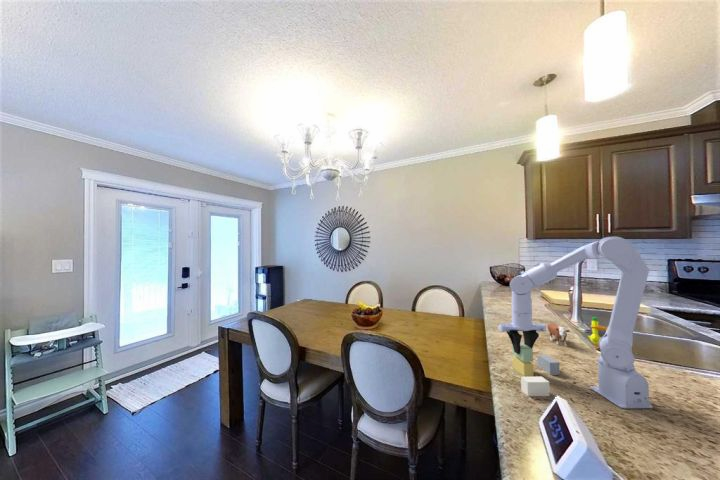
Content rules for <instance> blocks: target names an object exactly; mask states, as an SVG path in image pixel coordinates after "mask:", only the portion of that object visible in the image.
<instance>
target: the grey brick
mask: <svg viewBox="0 0 720 480" xmlns="http://www.w3.org/2000/svg"><path fill="white" fill-rule="evenodd" d="M536 359H537V360H536V361H537V367H539V368H540V369H541V370H543V371H544V372H546V373H547V374H549V375H552V376H553V375H554V376H555V375H560V362H559V361H558V360H557V359H555V358H552V357H551V356H550V355H548V354H537V357H536Z"/></svg>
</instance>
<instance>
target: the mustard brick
mask: <svg viewBox="0 0 720 480" xmlns="http://www.w3.org/2000/svg"><path fill="white" fill-rule="evenodd" d="M512 365H513V366H512V368H513V369H514V370H516V371H517V373H519V374H520V375H522V377H535V376H534V375H535V374H534V364H533V362H523V361H522V360H520V359H519V358H518V357H516V356H515V355H513V356H512Z"/></svg>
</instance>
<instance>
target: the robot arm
mask: <svg viewBox="0 0 720 480" xmlns="http://www.w3.org/2000/svg"><path fill="white" fill-rule="evenodd" d="M599 256H601V257H603V258H605V259H606V260H608V261H609V262H612V263H613V265H615V267H617V269H618V270H619V271H621V275H620V279H619V284H618V288H617V291H616V295H615V299H614V303H613V307H612V311H611V314H610V319H609V323H608V326H607V330H606V331H605V333H604V335H603V336H602V337H601V336H600V340H599V344H598V346H599V347H600V349H599V350H600V356H598V357H597V374H598V377H597V379H598V380H597V381H598V386H597V385H596V386H595V385H594V386H593V385H592V386H589V388H590V389H591V390H592V391H594V392H595V393H598V394H599V395H600V396H602V397H603V398H605V399H606V400H608V401H609V402H611V403H612V404H614V405H616V406H617V407H619V408H621V409H653V406H652V405H651V404H650V388H649V383H648V380H647V379H646V378H645V376H643V375H642V374H640V373H639V372H638V371H637V369H636V368H635V367H636V366H635V364H634V363H635V357H634V354H633V350H632V348H633V338H634V337H633V335H634V330H635V327H636V323H637V319H638V315H639V311H640V307H641V303H642V300H643V295H644V292H645V288H646V284H647V281H648V278H649V272H650V271H649V267H648V265H647V264H646V262H645V261H644V259H643V257H642V256H641V254H640V253H639V251H638V249H637V246H635V245H633V243H631V241H628V240H627V239H625V238H624V237H620V236H606V237H603V238H601V239H600V240H596V241H593V242H590V243H588V244H585V245H582V246H579V248H577V249H575V250H572V251H571V252H569V253H568V254H566V255H564V256H561V257H560V258H558V259H556V260H555V261H553V262H551V263H549V262H548V263H547V262H545V261H544V262H542V263H539V262H537V263H535V264H534V267H532V268H530V269H528V270H526V271H523V270H522V271H521V272H520V274H518V275H516V276H514V277H512V278H511V280H510V281H509V288H510V290H511V301H510V302H511V304H510V305H511V322H509V323H502V324H498V331H500V332H501V333H504V332H506V334H507V335H508V337H509V339H510V342H511V345H513V348H514V352H515V353H517V354H520V342H522V337H523V340H524V341H523V343H524V344H525V345H527V346H528V347H530V348H532V349H533V348H534V345H535V343H536V341H537V340H538V338H539V337H540V334H539V333H538V332H547V326H546V325H545V324H543V323H534V322H533V313H532V312H533V307H532V296H531V295H532V294H531V293H532V291H531V290H532V289H533V288H538V287H540V286H542V285H545V284H546V283H548V282H551V281H552V280H555V279H556V278H557V276H558V273H559V272H561V271H562V270H565V269H567V268H570V267H572V266H573V265H576V264H578V263H580V262H583V261H585V260H599V259H600V257H599ZM520 332H522V334H521V333H520Z"/></svg>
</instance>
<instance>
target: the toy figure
mask: <svg viewBox="0 0 720 480" xmlns="http://www.w3.org/2000/svg"><path fill="white" fill-rule="evenodd" d="M599 323H600V322H599V319H598V318H597V317H596V316H595V317H593V316H592V317H591V325H590V328H591V330H592V334H591V335H587V337H588V339H589V340H590V341H591V343H592V344H594V347H596V348H595V349H597V348H600V347H599V340H600V338H601V336H600V335H599V331H603V332H604V331H605V332H606V330H607V328H608V326H607V327H606V326H602V325H600V324H599Z"/></svg>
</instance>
